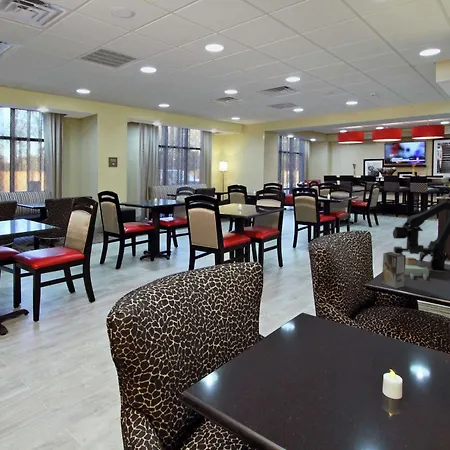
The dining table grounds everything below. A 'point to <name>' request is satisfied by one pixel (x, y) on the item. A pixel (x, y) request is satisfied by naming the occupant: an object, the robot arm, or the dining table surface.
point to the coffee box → (393, 269)
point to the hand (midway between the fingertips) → (410, 264)
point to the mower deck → (417, 270)
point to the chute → (411, 260)
